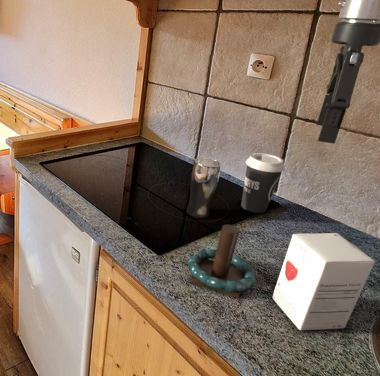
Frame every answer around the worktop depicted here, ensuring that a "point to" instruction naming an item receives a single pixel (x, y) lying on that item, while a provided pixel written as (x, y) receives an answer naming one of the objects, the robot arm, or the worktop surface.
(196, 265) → the ring
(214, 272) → the post
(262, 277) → the worktop surface
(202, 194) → the beer glass
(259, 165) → the coffee cup
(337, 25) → the robot arm
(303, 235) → the rectangular carton
